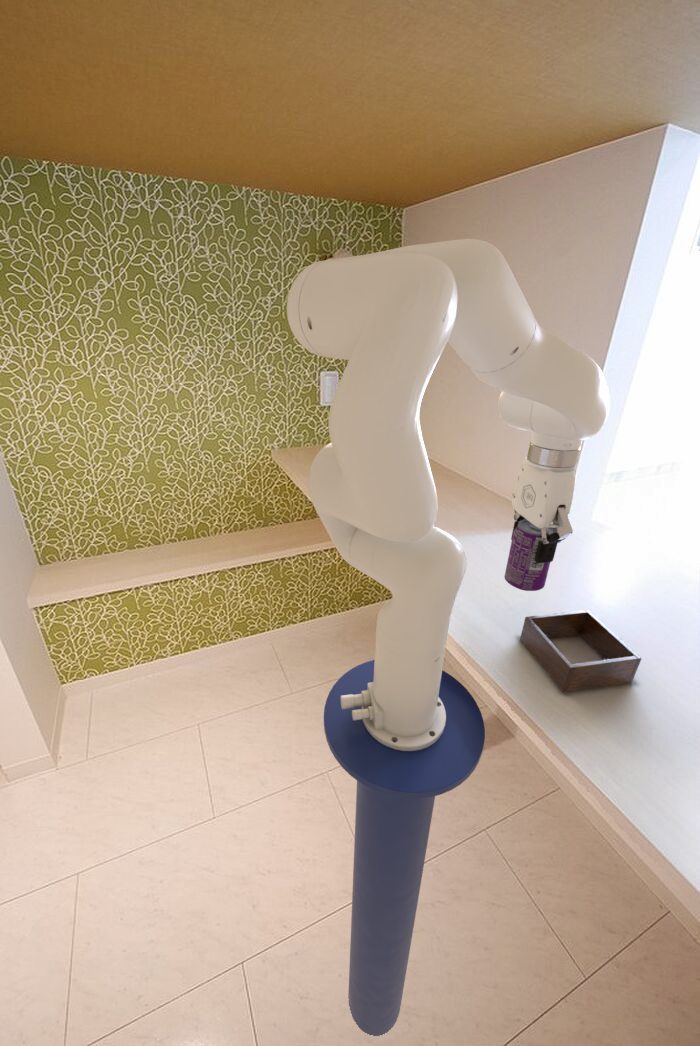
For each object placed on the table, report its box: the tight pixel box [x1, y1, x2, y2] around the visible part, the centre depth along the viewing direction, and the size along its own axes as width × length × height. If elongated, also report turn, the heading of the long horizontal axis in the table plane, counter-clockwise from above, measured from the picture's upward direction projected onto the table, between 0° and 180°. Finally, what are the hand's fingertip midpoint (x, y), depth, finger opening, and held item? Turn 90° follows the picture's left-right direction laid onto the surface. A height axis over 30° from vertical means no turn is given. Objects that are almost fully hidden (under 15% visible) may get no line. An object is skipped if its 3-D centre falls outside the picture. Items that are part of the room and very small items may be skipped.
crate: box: [519, 609, 642, 693], centre depth 72 cm, size 12×12×5 cm
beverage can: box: [504, 519, 553, 592], centre depth 79 cm, size 7×7×12 cm
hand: (531, 549), depth 78 cm, fingers closed on beverage can, 7 cm apart
